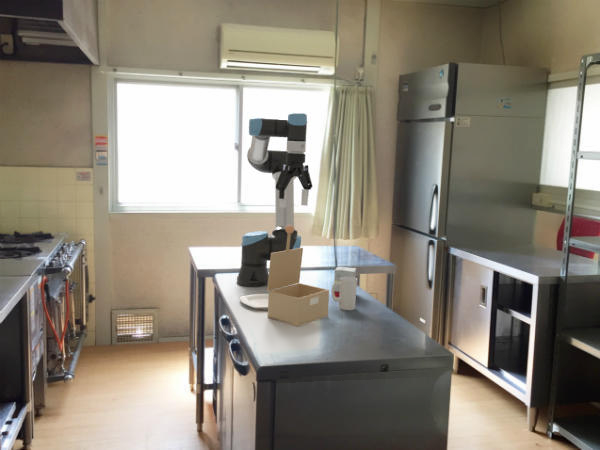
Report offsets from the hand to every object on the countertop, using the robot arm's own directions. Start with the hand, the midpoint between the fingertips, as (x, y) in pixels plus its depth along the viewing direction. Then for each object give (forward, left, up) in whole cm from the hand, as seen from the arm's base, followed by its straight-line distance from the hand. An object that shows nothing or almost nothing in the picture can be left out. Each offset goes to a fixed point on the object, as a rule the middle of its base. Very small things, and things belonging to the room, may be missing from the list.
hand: (293, 206), depth 226 cm
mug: (+22, +6, -39) cm, 45 cm away
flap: (+12, -16, -17) cm, 26 cm away
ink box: (+11, +23, -39) cm, 47 cm away
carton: (+17, -16, -39) cm, 45 cm away
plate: (-3, -12, -39) cm, 41 cm away
